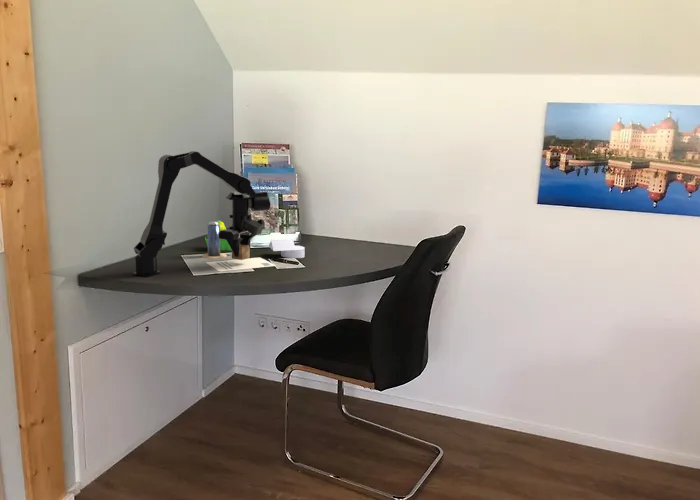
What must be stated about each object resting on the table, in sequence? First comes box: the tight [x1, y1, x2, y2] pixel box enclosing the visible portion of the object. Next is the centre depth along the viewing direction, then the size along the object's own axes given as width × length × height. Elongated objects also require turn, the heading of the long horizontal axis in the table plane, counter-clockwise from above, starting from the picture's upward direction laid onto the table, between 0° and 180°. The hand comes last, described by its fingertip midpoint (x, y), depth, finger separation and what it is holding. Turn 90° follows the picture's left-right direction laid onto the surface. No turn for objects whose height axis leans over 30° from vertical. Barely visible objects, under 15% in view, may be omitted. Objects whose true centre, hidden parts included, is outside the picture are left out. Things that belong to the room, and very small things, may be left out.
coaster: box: [201, 252, 227, 260], centre depth 235 cm, size 9×9×1 cm
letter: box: [205, 257, 277, 272], centre depth 224 cm, size 21×15×1 cm
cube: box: [231, 244, 251, 260], centre depth 223 cm, size 4×4×4 cm
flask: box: [206, 221, 221, 257], centre depth 234 cm, size 5×5×12 cm
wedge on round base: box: [268, 238, 306, 259], centre depth 239 cm, size 9×7×13 cm
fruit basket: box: [204, 220, 232, 251], centre depth 247 cm, size 11×9×11 cm
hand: (240, 255), depth 223 cm, fingers closed on cube, 4 cm apart
